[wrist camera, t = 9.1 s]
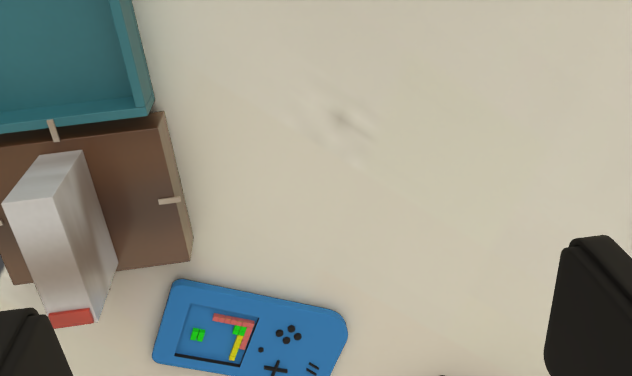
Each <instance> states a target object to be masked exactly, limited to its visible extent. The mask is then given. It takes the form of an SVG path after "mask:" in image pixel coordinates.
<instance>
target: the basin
mask: <svg viewBox="0 0 632 376" xmlns="http://www.w3.org/2000/svg"><path fill="white" fill-rule="evenodd" d="M154 101H155V97H154V93H153V89H152V85H151V80H150V76H149V72H148V68H147V64H146V60H145V55H144V51H143V47H142V43H141V39H140V34H139V30H138V26H137V22H136V18H135V14H134V9H133V5H132V1H131V0H0V134H4V133H13V132H21V131H29V130H37V129H45V128H49V127H48V124H47V120H50V119H53V120H54V123H55V126H56V127H62V126H70V125H78V124H86V123H95V122H103V121H111V120H119V119H127V118H136V117H144V116H148V114H149V112H150V110H151V107H152V105H153V103H154Z"/></svg>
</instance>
